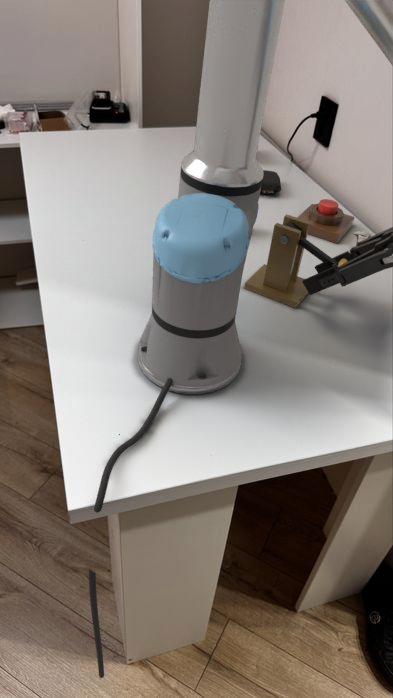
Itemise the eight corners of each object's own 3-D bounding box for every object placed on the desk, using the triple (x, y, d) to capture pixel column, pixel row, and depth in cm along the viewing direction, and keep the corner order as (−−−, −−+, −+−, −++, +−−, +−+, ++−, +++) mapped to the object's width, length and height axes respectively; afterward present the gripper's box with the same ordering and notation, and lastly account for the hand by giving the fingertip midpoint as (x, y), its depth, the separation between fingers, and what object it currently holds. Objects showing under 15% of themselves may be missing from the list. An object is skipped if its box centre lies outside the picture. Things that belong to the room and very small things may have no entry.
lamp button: (332, 218, 111) (334, 209, 110) (314, 212, 112) (316, 203, 111) (338, 211, 114) (341, 202, 112) (321, 206, 115) (323, 197, 114)
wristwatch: (366, 249, 109) (373, 227, 106) (364, 264, 105) (371, 241, 101) (349, 246, 110) (355, 224, 107) (346, 260, 105) (353, 237, 102)
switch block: (336, 243, 110) (341, 226, 108) (292, 228, 114) (296, 211, 111) (351, 226, 117) (356, 209, 114) (309, 212, 120) (313, 196, 118)
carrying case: (218, 193, 124) (280, 199, 124) (219, 181, 122) (283, 187, 122) (219, 175, 132) (278, 181, 133) (220, 163, 130) (280, 169, 131)
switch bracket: (312, 287, 97) (329, 223, 88) (295, 308, 91) (312, 242, 83) (263, 269, 100) (275, 206, 92) (244, 288, 95) (255, 222, 86)
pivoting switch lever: (343, 270, 90) (351, 260, 88) (333, 283, 86) (341, 272, 85) (286, 228, 91) (293, 217, 89) (274, 239, 88) (281, 228, 86)
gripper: (447, 270, 69) (304, 323, 86) (469, 221, 82) (341, 275, 98) (421, 221, 68) (280, 285, 84) (448, 178, 80) (320, 241, 96)
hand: (313, 279), depth 91 cm, fingers closed on pivoting switch lever, 5 cm apart
